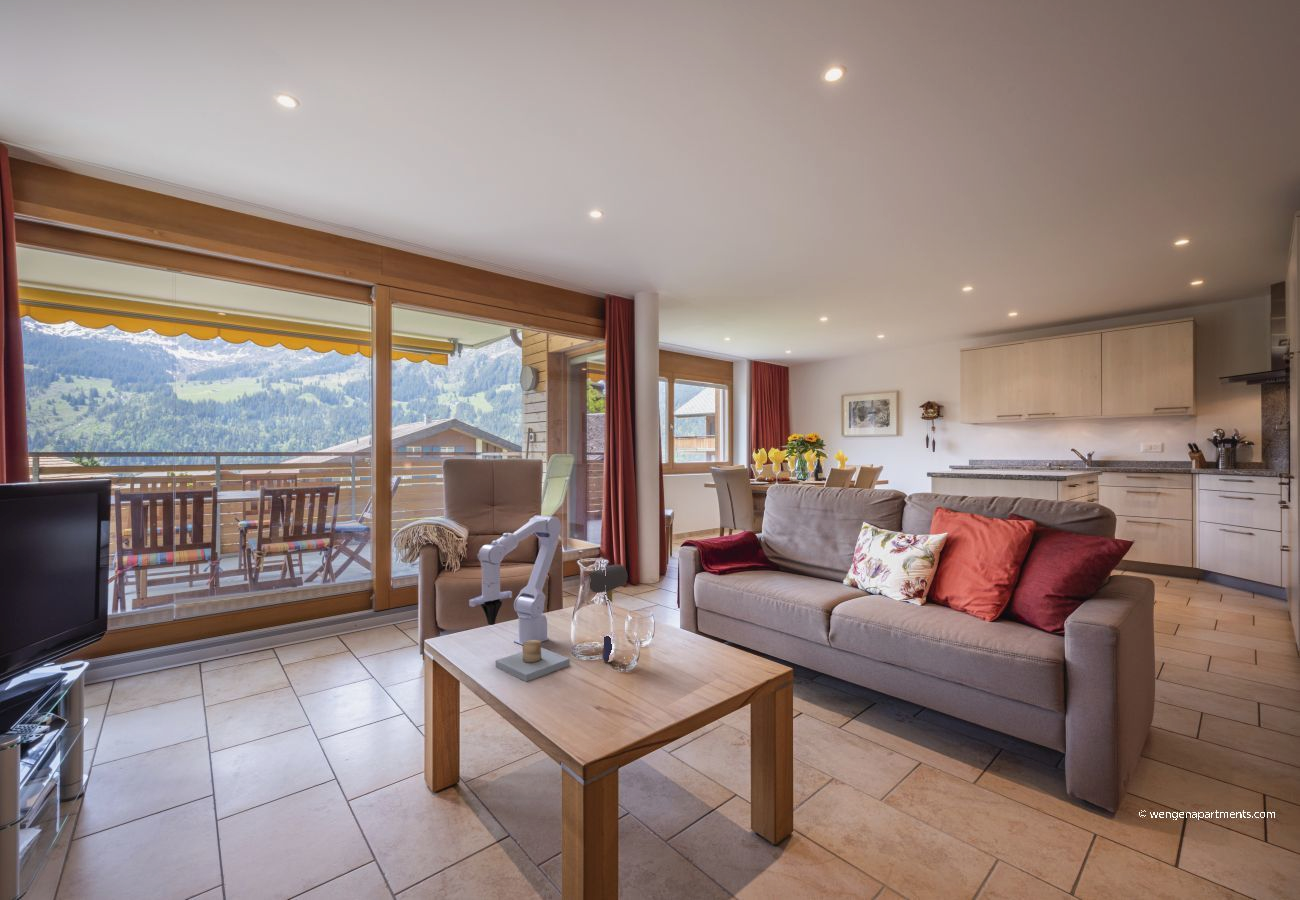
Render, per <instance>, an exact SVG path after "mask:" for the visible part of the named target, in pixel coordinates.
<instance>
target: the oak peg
mask: <svg viewBox="0 0 1300 900" xmlns="http://www.w3.org/2000/svg"><path fill="white" fill-rule="evenodd" d="M541 647H542V642H541V641H539V640H529V641H525V642H524V643H523V645H522V652H523V662H525V663H536V662H539V661H540V660H541Z"/></svg>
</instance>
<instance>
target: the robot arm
mask: <svg viewBox="0 0 1300 900" xmlns="http://www.w3.org/2000/svg"><path fill="white" fill-rule="evenodd" d="M562 528H563V526H562V523H561V520H560V519H559V518H558V517H557V516H547V515H541V514H536V515H534V516H533V517H530V518H529V521H528V522H526V523H525V524H524V525H522V526H521V527H520V528H518V529H517V530H516V531H514V532H513V533H511V532H504V533H503V534H502V536H501V537H499V538H498V539H495V540H492V542H491V543H490V544H484V545H482V547H481V548H480V549H479V551H478V554H476V555H477V559H478V560H479V562H480V567H481V595H479V596H476V597H473V598H471V599H469V600H468V604H469V605H468V606H469V607H471V608H473V607H476V606H479V605H480V607H481V608H482V610H483V612H484V614H485V617H486V621H487V624H488V625H490V626H492V625H495V624H496V620H497V616H498V613H499V611H500V609H501V607H502V604H503V601H501V600H505V599H508V598H509V599H511V598H513V591H511V590H505V591H501V562H502V561H503V560H504V557H505V556H507V554H509V553H511V552H512V551H513V550H515V549H516V548H517V547H518V545H519V542H521V541H523V540H524V539H526V538H528V537H529V536H531V535H533V534H535V536H536V537H537V538H538V539H539V540H540V543H541V545H540V548H539V551H538V554H537V557H536V559H535V562H534V565H533V569H532V570H531V574H530V577H529V579H528V582H527V584H526V586H525V587H523V588H521V590H520V591H519V593H518V595H517V596H516V598H515V600H514V601H513V609H514V611H515V612H516V613H517V616H518V638H515V639H513V642H514V643H517V644H519V645H522V646H523V643H524V642H525V641H529V640H539V641H541V643H542V642H546V641H548V640H549V637H548V619H547V617H546V615H545V614H544V610H545V601H546V599H547V598H546V594H545V592H544V591H543V589H544V586H545V582H546V579H547V576H548V573H549V570H550V569H551V565H552V562H553V559H554V556H555V554H556V550H557V548H558V544H559V538H560V537H559V536H560V534H561V530H562Z"/></svg>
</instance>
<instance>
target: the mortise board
mask: <svg viewBox="0 0 1300 900" xmlns="http://www.w3.org/2000/svg"><path fill="white" fill-rule="evenodd" d="M569 666H570V658H569V657H567V656H564V655H561V654H559V653H556V652H554V651H551V650H550V649H549V650H548V649H546V648H544V647H542V646H541V660H540V661H539V662H536V663H525V662H523V651H521V652H520V651H519V652H517V653H514V654H511V655H507V656H506V657H505V656H504V657H502V658H499V659H497V660H495V668H496V669H499V670H501V671H503V672H505V673H507V674H510V675H511V676H513V677H516V678H518V679H520V680H522V681H524V682H529V681H531V680H534V679H538V678H540V677H542V676H544V675H548V674H550V673H553V672H556V671H558V670H560V669H563V668H566V667H569Z"/></svg>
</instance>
